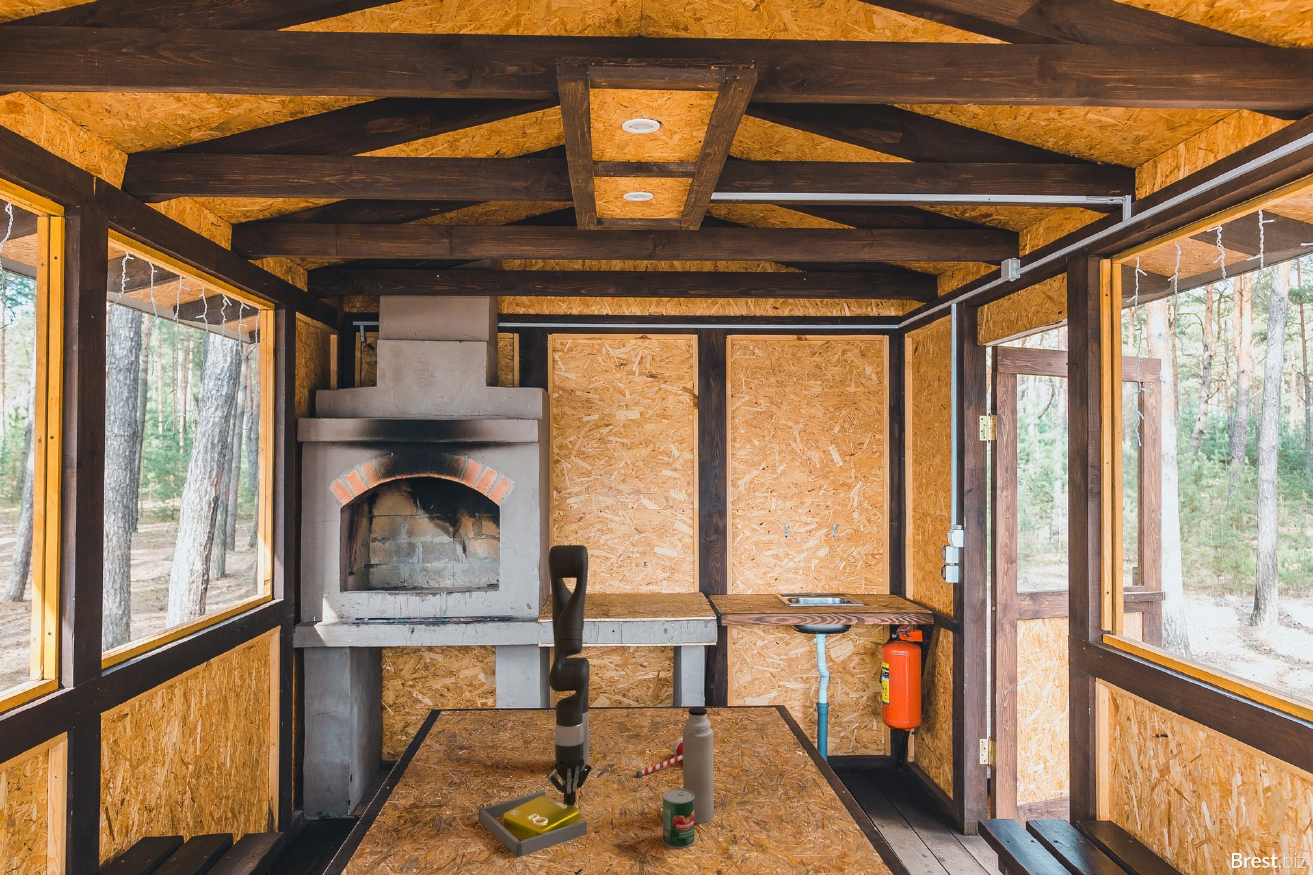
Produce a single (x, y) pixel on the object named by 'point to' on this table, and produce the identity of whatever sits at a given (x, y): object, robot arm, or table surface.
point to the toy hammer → (678, 756)
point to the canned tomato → (678, 818)
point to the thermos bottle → (699, 763)
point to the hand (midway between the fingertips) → (569, 805)
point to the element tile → (539, 817)
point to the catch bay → (532, 843)
